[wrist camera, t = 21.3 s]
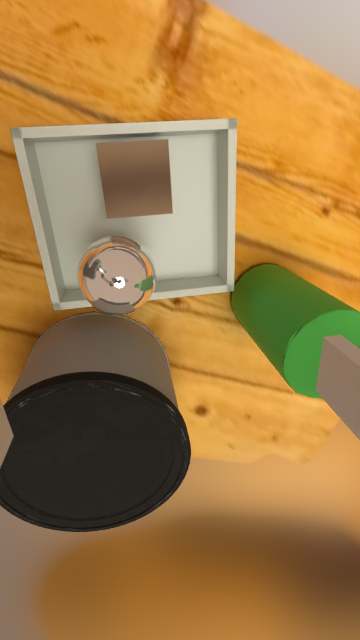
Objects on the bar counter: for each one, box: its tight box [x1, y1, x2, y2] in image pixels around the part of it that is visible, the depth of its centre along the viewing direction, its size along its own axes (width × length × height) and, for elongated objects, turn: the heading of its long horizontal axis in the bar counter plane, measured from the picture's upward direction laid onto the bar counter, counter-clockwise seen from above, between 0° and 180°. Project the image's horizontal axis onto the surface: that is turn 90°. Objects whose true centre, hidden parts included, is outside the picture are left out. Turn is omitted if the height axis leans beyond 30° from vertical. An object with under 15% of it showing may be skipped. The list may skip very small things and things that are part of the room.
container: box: [0, 312, 191, 532], centre depth 37 cm, size 19×19×15 cm
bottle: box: [231, 264, 360, 399], centre depth 31 cm, size 9×9×25 cm
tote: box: [10, 118, 237, 311], centre depth 34 cm, size 20×17×4 cm
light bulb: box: [77, 235, 157, 315], centre depth 31 cm, size 7×7×12 cm
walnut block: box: [96, 139, 173, 219], centre depth 31 cm, size 6×6×6 cm
